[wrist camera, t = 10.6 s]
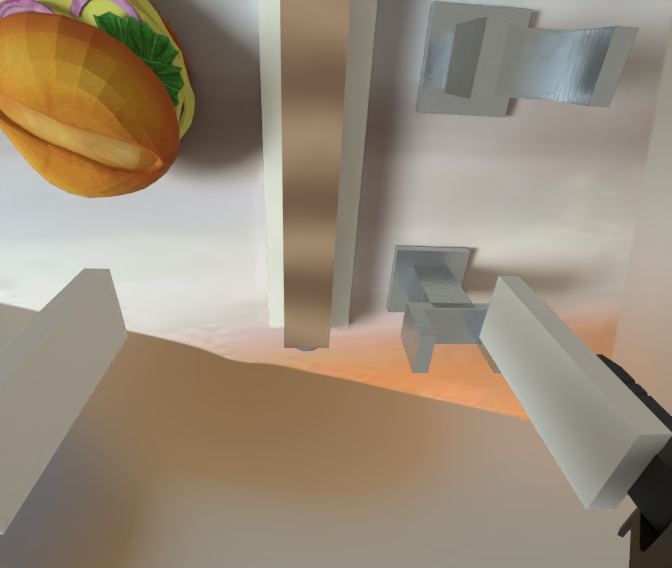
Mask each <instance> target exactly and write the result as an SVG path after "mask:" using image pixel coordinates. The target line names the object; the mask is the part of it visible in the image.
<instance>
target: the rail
mask: <svg viewBox="0 0 672 568" xmlns="http://www.w3.org/2000/svg"><path fill="white" fill-rule="evenodd" d="M349 13H350V0H280V37H281V116H282V194H283V273H284V348H297V349H299V350H302V351H312V350H315V349H317V348H329V338H330V322H331V305H332V289H333V273H334V257H335V240H336V224H337V208H338V192H339V175H340V159H341V143H342V127H343V111H344V94H345V78H346V62H347V46H348V29H349Z"/></svg>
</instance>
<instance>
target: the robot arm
mask: <svg viewBox="0 0 672 568" xmlns="http://www.w3.org/2000/svg"><path fill="white" fill-rule="evenodd" d="M127 337H128V335H127V331H126V328H125V324H124V320H123V317H122V313H121V310H120V306H119V302H118V299H117V295H116V291H115V288H114V284H113V281H112V277H111V273H110V270H109V269H83V270H82V271H81V272H80V273H79V274H78V275H77V276H76V277H75V278H74V279H73V280H72V281H71V282H70V283H69V284H68V285H67V286H66V287H65V288H64V289H63V290H62V291H61V292H59V293H58V294H57V295H56V296H55V297H54V298H53V299H52V300H51V301H50V302H49V303H48V304H47V305H46V306H45V307H44V308H43V309H42V310H41V311H40V312H39V313H38V314H37V315H36V316H35V317H34V318H33V319H31V321H29V322H28V323H27V324H26V325H25V326H24V327H23V328H22V329H21V330H20V331H19V332H18V333H17V334H16V335H15V336H14V337H13V338H12V339H11V340H10V341H9V342H8V343H7V344H6V345H5V346H4V347H2V348H1V349H0V534H4V532H5V531H6V529H7V528H8V526H9V524H10V523H11V521H12V520H13V518H14V516H15V515H16V513H17V512H18V510H19V509H20V507H21V505H22V504H23V502H24V501H25V499H26V497H27V496H28V494H29V493H30V491H31V490H32V488H33V486H34V484H35V483H36V482H37V480H38V478H39V477H40V475H41V473H42V472H43V470H44V469H45V467H46V466H47V464H48V463H49V461H50V459H51V458H52V456H53V455H54V453H55V451H56V450H57V448H58V447H59V445H60V443H61V442H62V440H63V438H64V437H65V436H66V434H67V432H68V431H69V429H70V428H71V426H72V424H73V423H74V421H75V420H76V418H77V416H78V415H79V413H80V411H81V410H82V408H83V407H84V405H85V404H86V402H87V401H88V399H89V397H90V396H91V394H92V393H93V391H94V389H95V388H96V386H97V385H98V383H99V382H100V380H101V378H102V377H103V375H104V374H105V372H106V370H107V369H108V367H109V366H110V364H111V363H112V361H113V359H114V358H115V356H116V355H117V353H118V351H119V350H120V348H121V347H122V345H123V343H124V342H125V340H126V339H127ZM479 338H480V339H481V341H482V342H483V344H484V346H485V347H486V349H487V350H488V352H489V354H490V355H491V357H492V359H493V360H494V362H495V363H496V365H497V367H498V368H499V370H500V371H501V373H502V375H503V376H504V378H505V379H506V381H507V383H508V384H509V386H510V388H511V389H512V391H513V392H514V394H515V396H516V397H517V399H518V400H519V402H520V404H521V405H522V407H523V408H524V410H525V412H526V413H527V415H528V417H529V418H530V420H531V421H532V423H533V425H534V426H535V427H536V429H537V431H538V432H539V434H540V436H541V437H542V439H543V441H544V442H545V444H546V445H547V447H548V449H549V450H550V452H551V454H552V455H553V457H554V458H555V460H556V462H557V463H558V465H559V466H560V468H561V470H562V471H563V473H564V475H565V476H566V478H567V479H568V481H569V483H570V484H571V485H572V487H573V489H574V490H575V492H576V494H577V495H578V497H579V499H580V500H581V502H582V503H583V505H584V507H585V508H586V510H596V509H597V510H598V509H616V508H617V507H618V505H619V504H620V503H621V502H622V500H623V499H624V498H625V496H626V495H627V494H628V495H629V496H630V497H631V499H632V500H633V501H634V503H635V504H636V505H637V508H636V509H635V510H634V512H633V513H632V514H631V515H630V517H629V518H628V519H627V520H626V521H625V523H624V524H623V525H622V527H621V528H620V530H619V532H618V535H619V536H621V537H624V536H625V534H626V533H627V532H628V531H629V530H631V539H630V560H629V568H672V416H670V415H669V414H668V413H667V412H666V411H665V410H664V409H663V408H662V407H661V406H660V405H659V404H658V403H657V402H656V401H655V400H654V399H653V398H652V397H651V396H648V395H647V392H646V391H645V390H644V389H643V388H642V387H641V386H640V385H639V384H636V383H635V380H634V379H633V378H632V377H631V376H630V375H629V374H628V373H627V372H626V371H625V370H624V369H623V368H622V367H620V366H619V365H617V364H616V363H614V362H613V361H611V360H610V359H608V358H607V357H605V356H603V355H602V354H595V353H594V352H593V351H592V350H591V349H590V348H589V347H588V346H587V345H586V344H585V343H584V342H583V341H582V340H581V339H580V338H579V337H578V336H577V335H576V334H575V333H574V332H573V331H572V330H571V329H570V328H569V327H568V326H567V324H566V323H565V322H564V321H563V320H562V319H561V318H560V317H559V316H558V315H557V314H556V313H555V312H554V311H553V310H552V309H551V308H550V307H549V306H548V305H547V304H546V303H545V302H544V301H543V300H542V299H541V298H540V297H539V296H538V295H537V294H536V293H535V292H534V291H533V290H532V289H531V288H530V287H529V285H528V284H527V283H526V282H525V281H524V280H523V279H522V278H521V277H520V276H498V279H497V282H496V285H495V288H494V291H493V295H492V298H491V301H490V304H489V307H488V310H487V314H486V317H485V320H484V323H483V326H482V329H481V333H480V336H479Z"/></svg>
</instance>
